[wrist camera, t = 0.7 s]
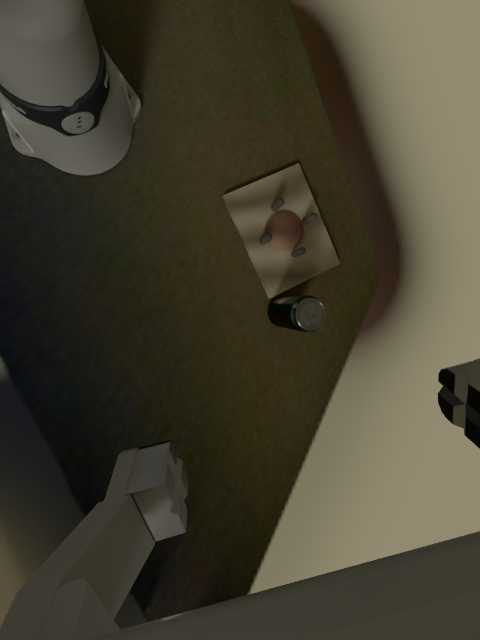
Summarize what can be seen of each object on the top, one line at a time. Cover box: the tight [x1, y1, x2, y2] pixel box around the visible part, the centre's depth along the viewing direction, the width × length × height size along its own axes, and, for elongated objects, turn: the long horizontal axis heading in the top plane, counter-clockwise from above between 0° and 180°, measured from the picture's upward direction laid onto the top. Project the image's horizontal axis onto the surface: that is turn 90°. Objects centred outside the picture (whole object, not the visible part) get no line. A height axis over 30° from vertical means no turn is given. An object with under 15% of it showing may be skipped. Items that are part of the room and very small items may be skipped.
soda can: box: [268, 295, 325, 332], centre depth 49 cm, size 5×5×12 cm
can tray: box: [223, 163, 340, 298], centre depth 51 cm, size 18×14×5 cm
